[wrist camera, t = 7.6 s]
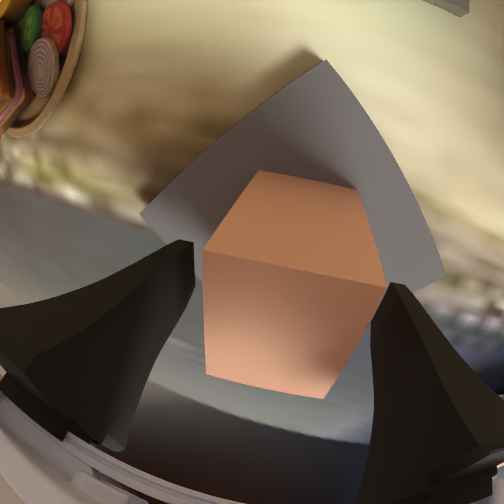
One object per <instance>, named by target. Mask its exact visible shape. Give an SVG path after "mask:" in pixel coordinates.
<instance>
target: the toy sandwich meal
mask: <svg viewBox="0 0 504 504" xmlns="http://www.w3.org/2000/svg"><path fill="white" fill-rule="evenodd" d="M86 19H87V0H2V1H1V2H0V138H1V136H2V134H3V133H4V132H6V133H7V134H9V135H11V136H13V137H17V138H22V137H27V136H30V135H32V134H34V133H35V132H36V131H38V130H39V129H40V128H41V127H42V126H43V125H44V124H45V123H46V122H47V120H48V119H49V118H50V117H51V115H52V114H53V112H54V111H55V109H56V107H57V106H58V104H59V102H60V101H61V99H62V97H63V95H64V93H65V91H66V88H67V86H68V84H69V82H70V80H71V77H72V75H73V73H74V70H75V67H76V65H77V62H78V58H79V55H80V52H81V48H82V44H83V39H84V34H85V28H86Z"/></svg>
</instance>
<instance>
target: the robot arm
mask: <svg viewBox="0 0 504 504" xmlns="http://www.w3.org/2000/svg"><path fill="white" fill-rule="evenodd" d="M194 288H195V266H194V242H190V241H185V240H180V239H178V240H176V241H174V242H172V243H170V244H168V245H166V246H164V247H162V248H161V249H159V250H157V251H155V252H154V253H152V254H150V255H148V256H146V257H145V258H143V259H141V260H139V261H137V262H136V263H134V264H132V265H130V266H128V267H126V268H124V269H122V270H120V271H118V272H116V273H114V274H113V275H111V276H108V277H106V278H104V279H102V280H100V281H98V282H95V283H93V284H90V285H88V286H86V287H83V288H80V289H77V290H75V291H72V292H69V293H66V294H63V295H60V296H57V297H53V298H50V299H46V300H42V301H38V302H34V303H29V304H25V305H19V306H13V307H6V308H0V365H1V366H2V367H3V369H4V370H5V371H6V372H7V373H6V374H5V375H4V377H2V375H1V374H0V473H1V474H2V475H3V477H4V478H5V479H6V481H7V482H8V483H9V485H10V486H11V487H12V488H13V489H14V491H15V492H16V493H17V494H18V495H19V496H20V498H21V499H22V500H23V501H24V502H25V503H26V504H148V502H147V501H145V500H142V499H140V498H138V497H136V496H134V495H132V494H130V493H128V492H126V491H124V490H122V489H119V488H118V487H115V486H113V485H111V484H109V483H107V482H105V481H103V480H102V478H101V474H100V472H102V473H103V474H105V475H107V476H109V477H111V478H113V479H115V480H117V481H119V482H121V483H123V484H125V485H127V486H129V487H131V488H133V489H135V490H137V491H140V492H142V493H144V494H147V495H149V496H151V497H154V498H157V499H159V500H161V501H164V502H167V503H169V504H244V503H239V502H234V501H229V500H226V499H222V498H218V497H214V496H210V495H206V494H203V493H200V492H196V491H193V490H190V489H187V488H184V487H181V486H178V485H175V484H172V483H169V482H167V481H164V480H162V479H159V478H157V477H154V476H152V475H149V474H147V473H145V472H142V471H140V470H138V469H136V468H134V467H131V466H129V465H127V464H125V463H123V462H121V461H119V460H117V459H115V458H113V457H111V456H109V455H107V454H106V453H104V452H102V451H100V450H98V449H96V448H94V447H93V446H91V445H90V443H91V442H93V443H94V444H96V445H98V446H101V445H103V446H105V447H107V448H109V449H111V450H113V451H115V452H119V451H122V450H124V449H125V446H126V442H127V438H128V435H129V431H130V428H131V424H132V421H133V418H134V414H135V411H136V408H137V406H138V403H139V400H140V397H141V394H142V391H143V389H144V386H145V384H146V381H147V379H148V377H149V374H150V372H151V370H152V367H153V365H154V363H155V360H156V358H157V357H158V355H159V353H160V351H161V349H162V347H163V346H164V344H165V342H166V341H167V339H168V337H169V336H170V334H171V332H172V330H173V329H174V327H175V325H176V324H177V322H178V320H179V319H180V317H181V315H182V314H183V312H184V310H185V308H186V306H187V304H188V302H189V300H190V297H191V295H192V292H193V290H194ZM370 347H371V359H372V371H373V385H374V415H373V425H372V433H371V440H370V446H369V452H368V458H367V462H366V466H365V471H364V475H363V478H362V481H361V485H360V488H359V491H358V494H357V497H356V500H355V503H354V504H504V478H503V479H501V480H498V481H496V482H494V483H492V477H493V476H495V475H497V473H498V472H497V466H498V465H500V464H501V463H503V462H504V400H503V399H502V398H501V397H500V396H499V395H498V394H496V393H495V392H494V391H493V390H492V389H491V388H490V387H489V386H488V385H487V384H486V383H485V382H484V381H483V380H482V379H481V378H480V377H479V376H478V375H477V374H476V373H475V372H474V371H473V370H472V369H471V368H470V367H469V365H468V364H467V363H466V362H465V361H464V360H463V358H462V357H461V356H460V355H459V354H458V353H457V351H456V350H455V349H454V348H453V347H452V345H451V344H450V343H449V341H448V340H447V339H446V338H445V336H444V335H443V334H442V332H441V331H440V330H439V328H438V327H437V326H436V324H435V323H434V322H433V320H432V319H431V317H430V316H429V315H428V313H427V312H426V311H425V309H424V308H423V307H422V305H421V304H420V303H419V301H418V300H417V299H416V297H415V296H414V295H413V293H412V292H411V291H410V290H409V289H408V288H407V286H406V285H404V284H399V283H394V282H390V284H389V286H388V288H387V291H386V293H385V295H384V297H383V299H382V301H381V303H380V305H379V307H378V309H377V311H376V313H375V315H374V317H373V319H372V321H371V340H370ZM99 471H100V472H99Z"/></svg>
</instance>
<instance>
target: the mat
mask: <svg viewBox="0 0 504 504" xmlns="http://www.w3.org/2000/svg"><path fill="white" fill-rule="evenodd" d="M258 170H261V171H267V172H273V173H279V174H284V175H290V176H295V177H300V178H305V179H310V180H315V181H320V182H325V183H329V184H334V185H338V186H343V187H347V188H351V189H355V190H358V192H359V195H360V198H361V200H362V203H363V206H364V209H365V212H366V215H367V218H368V221H369V224H370V227H371V231H372V234H373V237H374V240H375V244H376V247H377V251H378V254H379V258H380V261H381V265H382V269H383V273H384V276H385V280H386V284H387V288H388V286H389V284H390V282H394V283H399V284H404V285H406V286H407V288H408V289H409V290H410V291H411V292H412V293H413V292H416V291H417V290H419V289H421V288H423V287H425V286H427V285H429V284H431V283H433V282H435V281H437V280H439V279H441V278H442V277H444V276H446V273H445V270H444V267H443V264H442V261H441V259H440V256H439V253H438V250H437V248H436V245H435V243H434V240H433V238H432V235H431V233H430V230H429V228H428V225H427V223H426V221H425V218H424V216H423V214H422V212H421V210H420V207H419V205H418V203H417V201H416V199H415V197H414V195H413V193H412V191H411V189H410V187H409V185H408V183H407V181H406V179H405V177H404V175H403V173H402V171H401V169H400V167H399V166H398V164H397V162H396V160H395V158H394V157H393V155H392V153H391V151H390V150H389V148H388V146H387V145H386V143H385V141H384V140H383V138H382V136H381V135H380V133H379V131H378V130H377V128H376V127H375V125H374V124H373V122H372V121H371V119H370V117H369V116H368V114H367V113H366V112H365V110H364V109H363V107H362V106H361V104H360V103H359V101H358V100H357V99H356V97H355V96H354V94H353V93H352V92H351V90H350V89H349V88H348V86H347V85H346V84H345V82H344V81H343V80H342V78H341V77H340V76H339V75H338V73H337V72H336V71H335V70H334V68H333V67H332V66H331V65H330V63H329V62H328V61H327V60H325V61H323V62H321V63H320V64H318V65H317V66H315V67H314V68H312V69H311V70H309V71H308V72H306V73H305V74H303V75H302V76H300V77H299V78H297V79H296V80H294V81H293V82H291V83H290V84H289V85H287V86H286V87H284V88H283V89H282V90H280V91H279V92H277V93H276V94H275V95H273V96H272V97H271V98H269V99H268V100H267V101H265V102H264V103H263V104H261V105H260V106H259V107H257V108H256V109H255V110H253V111H252V112H251V113H250V114H248V115H247V116H246V117H245V118H243V119H242V120H241V121H240V122H238V123H237V124H236V125H235V126H233V127H232V128H231V129H230V130H229V131H227V132H226V133H225V134H224V135H223V136H221V137H220V138H219V139H218V140H217V141H216V142H214V143H213V144H212V145H211V146H210V147H209V148H207V149H206V150H205V151H204V152H203V153H202V154H201V155H200V156H198V157H197V158H196V159H195V160H194V161H193V162H192V163H191V164H190V165H189V166H188V167H186V168H185V169H184V170H183V171H182V172H181V173H180V174H179V175H178V176H177V177H176V178H175V179H174V180H173V181H172V182H171V183H170V184H169V185H168V186H166V187H165V188H164V189H163V190H162V191H161V192H160V193H159V194H158V195H157V196H156V197H155V198H154V199H153V200H152V201H151V203H150V204H149V205H148V206H147V207H146V208H145V209H144V210H143V211H142V212H141V213H140V215H141V216H142V218H143V219H144V220H145V221H146V222H147V223H148V224H149V226H150V227H151V228H152V229H153V230H154V231H155V232H156V233H157V234H158V236H159V237H160V238H161V239H162V240H163V241H164V242H165V243H166V244H167V245H168V244H170V243H172V242H174V241H176V240H178V239H180V240H185V241H190V242H194V266H195V275H196V276H197V277H198V278H199V279H200V280H201V282H202V283H203V248H204V247H205V245H206V244H207V242H208V241H209V240H210V238H211V237H212V235H213V234H214V232H215V231H216V229H217V228H218V226H219V225H220V224H221V222H222V221H223V219H224V218H225V216H226V215H227V214H228V212H229V211H230V209H231V208H232V206H233V205H234V204H235V202H236V201H237V199H238V198H239V197H240V195H241V194H242V192H243V191H244V190H245V188H246V187H247V185H248V184H249V183H250V181H251V180H252V179H253V177H254V176H255V174H256V173H257V172H258ZM386 291H387V289H386ZM386 291H385V293H386ZM384 295H385V294H384ZM383 297H384V296H383ZM382 299H383V298H382ZM381 301H382V300H381ZM380 303H381V302H380ZM379 305H380V304H379ZM378 307H379V306H378ZM377 309H378V308H377Z"/></svg>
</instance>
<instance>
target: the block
mask: <svg viewBox="0 0 504 504" xmlns="http://www.w3.org/2000/svg"><path fill="white" fill-rule="evenodd" d="M386 289H387V284H386V280H385V276H384V273H383V269H382V265H381V261H380V258H379V254H378V251H377V247H376V244H375V240H374V237H373V234H372V231H371V227H370V224H369V221H368V218H367V215H366V212H365V209H364V206H363V203H362V200H361V198H360V195H359V192H358V190H355V189H351V188H347V187H343V186H338V185H334V184H329V183H325V182H320V181H315V180H310V179H305V178H300V177H295V176H290V175H284V174H279V173H273V172H267V171H261V170H258V172H257V173H256V174H255V176H254V177H253V179H252V180H251V181H250V183H249V184H248V185H247V187H246V188H245V190H244V191H243V192H242V194H241V195H240V197H239V198H238V199H237V201H236V202H235V204H234V205H233V206H232V208H231V209H230V211H229V212H228V214H227V215H226V216H225V218H224V219H223V221H222V222H221V224H220V225H219V226H218V228H217V229H216V231H215V232H214V234H213V235H212V237H211V238H210V240H209V241H208V242H207V244H206V245H205V247H204V248H203V308H204V337H205V358H206V374H209V375H212V376H216V377H220V378H223V379H227V380H231V381H235V382H239V383H243V384H247V385H251V386H256V387H260V388H265V389H270V390H275V391H280V392H285V393H290V394H296V395H302V396H308V397H314V398H321V399H323V398H324V397H325V395H326V394H327V392H328V391H329V389H330V388H331V386H332V385H333V383H334V382H335V380H336V379H337V377H338V376H339V374H340V373H341V371H342V369H343V368H344V366H345V365H346V363H347V361H348V360H349V358H350V356H351V355H352V353H353V351H354V350H355V348H356V346H357V344H358V343H359V341H360V339H361V337H362V336H363V334H364V332H365V330H366V328H367V327H368V325H369V323H370V321H371V319H372V317H373V315H374V313H375V311H376V310H377V308H378V306H379V304H380V302H381V300H382V298H383V296H384V294H385V291H386Z"/></svg>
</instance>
